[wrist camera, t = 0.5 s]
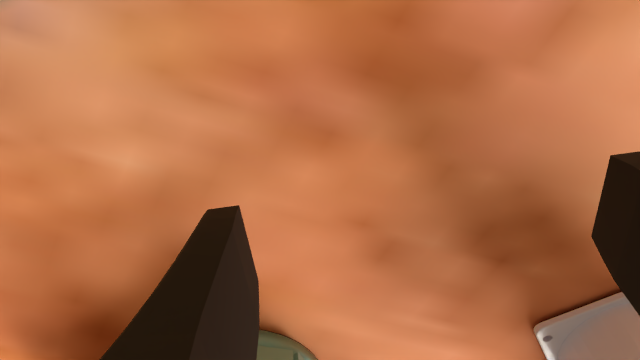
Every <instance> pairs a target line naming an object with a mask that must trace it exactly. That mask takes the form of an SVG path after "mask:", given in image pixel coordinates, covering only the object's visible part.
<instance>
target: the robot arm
mask: <svg viewBox="0 0 640 360" xmlns="http://www.w3.org/2000/svg"><path fill="white" fill-rule="evenodd" d="M591 237H592V239H593V241H594V243H595V245H596V247H597V249H598V251H599V253H600V255H601V257H602V259H603V261H604V263H605V264H606V266H607V268H608V270H609V272H610V273H611V275H612V277H613V279H614V281H615V282H616V284H617V285H618V286H619V288H620V289H621V291H622V292H620V293H617V294H614V295H612V296H609V297H607V298H604V299H601V300H599V301H596V302H593V303H591V304H588V305H585V306H583V307H580V308H578V309H575V310H572V311H570V312H567V313H564V314H562V315H559V316H556V317H554V318H551V319H548V320H546V321H543V322H541V323H539V324H537V325H536V326H535V327H534V329H533V330H534V333H535V335H536V337H537V340H538V342H539V344H540V346H541V348H542V350H543V352H544V355H545V357H546V359H547V360H640V152H633V153H625V154H618V155H611V156H610V160H609V164H608V168H607V173H606V177H605V181H604V185H603V189H602V194H601V198H600V202H599V206H598V211H597V215H596V219H595V223H594V227H593V232H592V236H591ZM258 338H259V285H258V277H257V273H256V270H255V266H254V262H253V258H252V254H251V250H250V246H249V242H248V238H247V235H246V231H245V227H244V223H243V219H242V215H241V211H240V207H239V205H238V206H231V207H223V208H216V209H208V210H207V211H206V213H205V214H204V215H203V217H202V218H201V220H200V222H199V223H198V225H197V226H196V228H195V230H194V231H193V233H192V234H191V236H190V238H189V239H188V241H187V242H186V244H185V246H184V247H183V249H182V250H181V252H180V253H179V255H178V256H177V258H176V260H175V261H174V263H173V264H172V265H171V267H170V268H169V270H168V271H167V273H166V274H165V276H164V277H163V279H162V280H161V282H160V283H159V284H158V286H157V287H156V289H155V290H154V292H153V293H152V294H151V296H150V297H149V299H148V300H147V301H146V302H145V304H144V305H143V306H142V308H141V309H140V310H139V312H138V313H137V314H136V316H135V317H134V318H133V319H132V321H131V322H130V323H129V325H128V326H127V327H126V329H125V330H124V331H123V332H122V334H121V335H120V336H119V337H118V339H117V340H116V341H115V342H114V343H113V345H112V346H111V347H110V348H109V349H108V350H107V352H106V353H105V354H104V355H103V356H102V357H101V359H100V360H256V359H257V348H258Z"/></svg>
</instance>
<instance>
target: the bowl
mask: <svg viewBox="0 0 640 360" xmlns="http://www.w3.org/2000/svg"><path fill="white" fill-rule="evenodd" d="M256 360H318V359H317V358H316V357H315V355H314V354H312V353H311V352H310V351H309V350H308V349H307V348H305V347H304V346H303V345H301V344H300V343H298V342H296V341H294V340H292V339H290V338H287V337H285V336H282V335H280V334H276V333H273V332H269V331H264V330H259V338H258V348H257V359H256Z"/></svg>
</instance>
